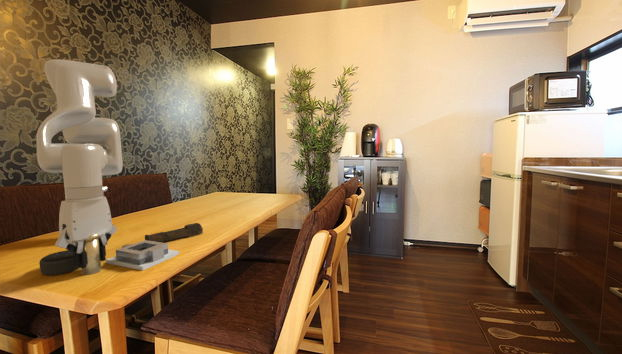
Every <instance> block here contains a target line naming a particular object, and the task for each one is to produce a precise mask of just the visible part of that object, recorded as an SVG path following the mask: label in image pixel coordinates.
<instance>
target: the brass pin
mask: <svg viewBox="0 0 622 354" xmlns="http://www.w3.org/2000/svg"><path fill="white" fill-rule="evenodd" d="M99 237H100V235H99V233H98V234H95V235H91V236H89V237H88V238H87V239H85V240H84V242H83V252H85V254H86V265H87V266H86V268H80V269H81V274H82V275H83V276H88V275H89V276H90V275H95V274H97V273H99V272H101V271H102V261H101V259H100V248H99Z"/></svg>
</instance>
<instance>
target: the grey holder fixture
mask: <svg viewBox="0 0 622 354" xmlns="http://www.w3.org/2000/svg"><path fill="white" fill-rule="evenodd" d="M168 249H169V245H168V243H167V242H155V241H148V240H145V239H144V240H141V241H139V242H135V243H132V244H131V243H129V244H124V245H122V246H121V248H118V249H115V256H116V260H117V261H121V262H126V263H131V264H136V265H142V264H144V263H147V262H149V261H150V262H155V261H157V260H159V259H162V258H164V255H166V254H168Z"/></svg>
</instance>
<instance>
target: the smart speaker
mask: <svg viewBox="0 0 622 354" xmlns="http://www.w3.org/2000/svg"><path fill="white" fill-rule="evenodd" d="M38 263H39V271H40V273H41V274H42V275H45V276H55V275H62V274H66V273H70V272H73V271H75V270H78V269H80V268H79V267H76V265H75V264H74V257H73V252H71V251H69V250H67V249H66V250H59V251H57V252H53V253H49V254H47V255H45V256H43V257H42V258H41V259H39V262H38Z"/></svg>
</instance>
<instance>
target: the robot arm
mask: <svg viewBox="0 0 622 354" xmlns="http://www.w3.org/2000/svg"><path fill="white" fill-rule="evenodd" d="M44 73H45V76H46V79H47V82H48V84H49V86H50V88H51V89H52V91H53V92H54V94H55V97H56V109H57V110H55V111H54V112H52V113H51V114H49V115H48V116H47V117H46V118H45V119H44V120H43V121H42V122H41V123H40V125H39V127H38V129H37V133H36V159H37V164H38V165H39V167H40V169H41V170H43V172H45V173H51V174H52V173H55V174H56V173H58V174H59V173H60V174H62V178H63V187H64V195H65V196H64V197H65V200H62V201H61V202H60V206H59V213H58V214H59V216H58V217H59V218H58V230H59V231H58V233H59V236H58V238H57V240H56V242H55V244H54V246H55V247H58V248H61V249H66V250H69V251H71V252H73V257H74V264H75V265H76V267H79V268H78V269H81V268H86V266H87V265H86V254H85V252H83V242H84V240H85V239H87V238H88V237H89V236H91V235H95V234H98V233H99V235H100V237H99V248H100V259H101V262H106V260H107V259H106V258H107V257H106V256H107V252H106V251H107V250H106V246H107V245H108V242H109V240H110V239H111V238H112V236H113V235H115V233H116V232H117V231H118V228H117V227H116V225H114V223H113V221H112V214H111V208H110V205H109V202H108V199H107V197H106V196H105V195H104V194H105V193H104V192H107V191H108V187H107V186H106V185H105V186H104V185H103V176H115V175H118V174H120V173H122V170H123V169H124V168H123V164H124V163H123V161H124V160H123V151H122V150H123V149H122V139H121V131H120V127H119V124H118V122H117V121H116V120H114V119H112V118H107V117H106V118H105V117H96V115H97V110H96V105H95V104H96V102H95V97H103V98H113V97H115V96H116V95H117V91H118V85H117V79H116V78H117V77H116V75H115V73H114V72H113V70H112V69H111V67H109V66H107V65H103V64H99V63H98V64H97V63H90V62H82V61H77V60H69V59H58V58H56V59H49V60H47V61H45V63H44ZM59 132H62V135H63V139H64V140H65V142H67V143H52V139H53V137H54V136H55V135H57V134H58V133H59ZM103 146H104V147H106V148H104V147H103Z"/></svg>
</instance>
